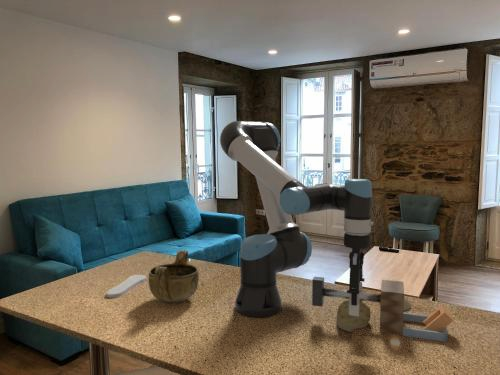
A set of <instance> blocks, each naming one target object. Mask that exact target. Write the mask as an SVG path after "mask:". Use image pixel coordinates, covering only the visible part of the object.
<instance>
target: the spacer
mask: <svg viewBox="0 0 500 375" xmlns="http://www.w3.org/2000/svg"><path fill="white" fill-rule="evenodd" d="M428 316H429V317H428V318H426V319H425V320H424V321H423V323H422V324H424V325H425V326H424V328H423V330H430V331H437V332H442V331H441V330H443V329H444V328H445V327H446V328H447V327H448V326H449V325H450V324H452V322H454V318H453V315H452V313H451V311H450V310H448V309H447V308H446V307H445V306H443V305H441V306H440V307H438V308H437V309H436V310H435V311H434V312H433V313H431V314H430V315H428Z"/></svg>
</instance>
